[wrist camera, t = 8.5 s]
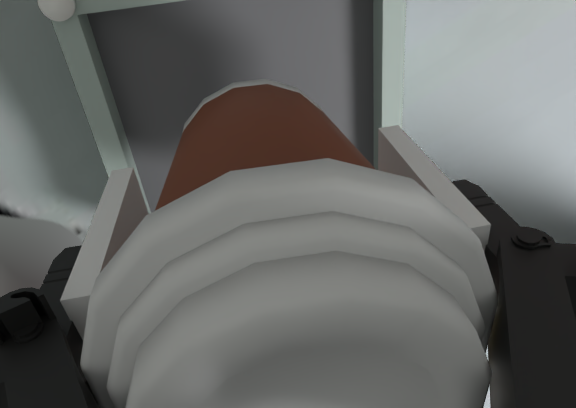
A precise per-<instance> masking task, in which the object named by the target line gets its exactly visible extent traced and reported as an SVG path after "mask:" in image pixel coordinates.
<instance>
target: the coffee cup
mask: <svg viewBox="0 0 576 408" xmlns="http://www.w3.org/2000/svg"><path fill="white" fill-rule="evenodd" d="M498 301H499V300H498V295H497V291H496V288H495V285H494V282H493V279H492V276H491V273H490V270H489V266H488V263H487V260H486V257H485V254H484V251H483V248H482V244H481V241H480V239H479V238H478V237H477V236H476V235H475V233H474V232H473V231H472V230H471V229H470V228H469V226H468V225H467V224H466V223H465V222H464V221H463V220H462V219H460V218H459V217H458V216H457V215H456V214H454V213H453V212H452V211H451V210H450V209H448V208H447V207H446V206H445V205H443V204H442V203H441V202H440V201H439V200H437V199H436V198H435V197H434V196H433V195H431V194H430V193H429V192H428V191H427V190H425V189H424V188H423V187H422V186H421V185H419V184H418V183H417V182H416V181H415V180H413V179H412V178H408V177H404V176H400V175H396V174H391V173H387V172H383V171H379V170H376V169H375V168H374V167H373V166H372V165H371V163H370V162H369V161H368V160H367V159H366V158H365V157H364V156H363V155H362V154H361V153H360V151H359V150H358V149H357V148H356V147H355V146H354V145H353V144H352V143H351V142H350V141H349V139H348V138H347V137H346V136H345V135H344V134H343V133H342V132H341V131H340V130H339V129H338V127H337V126H336V125H335V124H334V123H333V122H332V121H331V120H330V119H329V118H328V117H327V115H326V114H325V113H324V112H323V110H322V109H321V107H320V106H319V105H317V104H316V103H315V102H314V101H313V100H311V99H310V98H309V97H308V96H307V95H305V94H304V93H303V92H302V91H300V90H299V89H298V88H296V87H293V86H289V85H286V84H282V83H279V82H275V81H272V80H268V79H260V80H252V81H243V82H235V83H231V84H229V85H228V86H226V87H224V88H222V89H220V90H219V91H217V92H215V93H213V94H211V95H210V96H208V97H206V98H204V99H203V100H202V102H201V103H200V104H199V106H198V107H197V108H196V109H195V111H194V112H193V113H192V115H191V116H190V117H189V119H188V120H187V121H186V123H185V124H184V128H183V133H182V136H181V139H180V142H179V145H178V147H177V150H176V153H175V156H174V159H173V161H172V164H171V167H170V170H169V173H168V175H167V178H166V181H165V184H164V187H163V189H162V192H161V195H160V198H159V201H158V203H157V206H156V209H155V211H154V212H152V213H150V214H148V215H146V216H145V217H144V219H143V220H142V221H141V222H140V224H139V225H138V226H137V227H136V229H135V230H134V231H133V232H132V234H131V235H130V236H129V237H128V239H127V240H126V241H125V242H124V244H123V245H122V246H121V247H120V249H119V250H118V251H117V252H116V254H115V255H114V256H113V257H112V259H111V260H110V261H109V262H108V264H107V265H106V266H105V268H104V269H103V270H102V271H101V273H100V274H99V275H98V276H97V278H96V280H95V283H94V286H93V290H92V293H91V296H90V299H89V305H88V312H87V319H86V326H85V333H84V340H83V347H82V354H81V361H80V366H81V370H82V372H83V374H84V376H85V378H86V380H87V382H88V384H89V386H90V388H91V390H92V392H93V394H94V396H95V398H96V400H97V402H98V404H99V406H100V408H483V406H484V402H485V399H486V395H487V391H488V388H489V384H490V380H491V377H492V373H493V372H492V370H491V367H490V365H489V362H488V360H487V357H486V354H485V353H486V349H487V345H488V341H489V337H490V333H491V329H492V325H493V321H494V317H495V313H496V309H497V305H498Z"/></svg>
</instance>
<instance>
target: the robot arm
mask: <svg viewBox="0 0 576 408" xmlns="http://www.w3.org/2000/svg"><path fill="white" fill-rule="evenodd" d="M378 170H379V171H383V172H387V173H391V174H396V175H400V176H404V177H408V178H412V179H413V180H415V181H416V182H417V183H418V184H419V185H421V186H422V187H423V188H424V189H425V190H427V191H428V192H429V193H430V194H431V195H433V196H434V197H435V198H436V199H437V200H439V201H440V202H441V203H442V204H443V205H445V206H446V207H447V208H448V209H450V210H451V211H452V212H453V213H454V214H456V215H457V216H458V217H459V218H460V219H462V220H463V221H464V222H465V223H466V224H467V225H468V226H469V228H470V229H471V230H472V231H473V232H474V233H475V235H476V236H477V237H478V238H479V239H480V241H481V244H482V248H483V251H484V254H485V257H486V260H487V263H488V266H489V270H490V273H491V276H492V279H493V282H494V285H495V288H496V291H497V295H498V300H499V301H498V305H497V309H496V313H495V317H494V321H493V325H492V329H491V333H490V337H489V341H488V359H489V365H490V367H491V370H492V372H493V373H492V377H491V380H490V403H491V408H576V244H560V243H555V241H554V240H553V238H552V237H550V236H549V235H548V234H546V233H545V232H542V231H540V230H537V229H534V228H529V227H520V226H519V225H518V224H517V223H516V222H515V221H514V220H513V219H512V218H511V217H510V216H509V215H508V214H507V213H506V212H505V211H504V210H503V209H502V208H501V207H500V206H499V205H498V204H495V202H494V201H493V200H492V199H491V198H490V197H488V195H487V194H486V193H485V192H484V191H483V190H482V189H481V188H480V187H479V186H477V185H475V184H473V183H471V182H469V181H467V180H459V181H453V182H451V181H450V180H449V179H448V178H447V177H446V176H445V175H444V174H443V173H442V171H441V170H440V169H439V168H438V167H437V166H436V165H435V164H434V163H433V162H432V161H431V160H430V159H429V158H428V157H427V155H426V154H425V153H424V152H423V151H422V150H421V149H420V148H419V147H418V146H417V145H416V144H415V143H414V142H413V140H412V139H411V138H410V137H409V136H408V135H407V134H406V133H405V132H404V131H403V130H402V129H401V128H400V127H399V125H395V126H389V127H383V128H378ZM148 214H149V213H148V210H147V207H146V204H145V201H144V198H143V195H142V192H141V189H140V186H139V183H138V180H137V177H136V174H135V171H134V168H133V167H131V168H124V169H118V170H112V171H111V174H110V176H109V179H108V181H107V184H106V186H105V189H104V191H103V194H102V196H101V199H100V201H99V204H98V206H97V209H96V211H95V214H94V216H93V219H92V221H91V224H90V226H89V229H88V231H87V234H86V236H85V239H84V241H83V244H82V245H81V246H75V247H69V248H65V249H64V250H63V251H62V252H61V253H60V254H59V255H58V256H57V257H56V258H55V259H54V260H53V262H52V264H51V266H50V269H49V271H48V274H47V275H46V277H45V279H44V281H43V283H44V284H42V286H41V288H40V290H39V289H35V288H22V289H18V290H15V291H12V292H10V293H8V294H6V295H4V296H2V297H0V408H100V406H99V404H98V402H97V400H96V398H95V396H94V394H93V392H92V390H91V388H90V386H89V384H88V382H87V380H86V378H85V376H84V374H83V372H82V370H81V366H80V361H81V354H82V347H83V340H84V333H85V326H86V319H87V312H88V305H89V299H90V296H91V293H92V290H93V286H94V283H95V280H96V278H97V276H98V275H99V274H100V273H101V271H102V270H103V269H104V268H105V266H106V265H107V264H108V262H109V261H110V260H111V259H112V257H113V256H114V255H115V254H116V252H117V251H118V250H119V249H120V247H121V246H122V245H123V244H124V242H125V241H126V240H127V239H128V237H129V236H130V235H131V234H132V232H133V231H134V230H135V229H136V227H137V226H138V225H139V224H140V222H141V221H142V220H143V219H144V217H145V216H146V215H148Z"/></svg>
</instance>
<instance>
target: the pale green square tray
mask: <svg viewBox="0 0 576 408" xmlns="http://www.w3.org/2000/svg"><path fill="white" fill-rule="evenodd" d="M38 5H39V8H40V10H41V11H42V13H43V14H44V15H45V16H46V17H48V18H49V19H51V22H52V25H53V27H54V30H55V33H56V36H57V38H58V41H59V44H60V46H61V49H62V52H63V55H64V57H65V60H66V63H67V65H68V68H69V71H70V74H71V76H72V79H73V82H74V85H75V87H76V90H77V93H78V95H79V98H80V101H81V104H82V106H83V109H84V112H85V115H86V117H87V120H88V123H89V125H90V128H91V131H92V134H93V136H94V139H95V142H96V145H97V147H98V150H99V153H100V155H101V158H102V161H103V164H104V166H105V169H106V172H107V174H108V177H109V176H110V174H111V171H112V170H118V169H124V168H131V167H133V168H134V171H135V174H136V177H137V180H138V183H139V186H140V189H141V192H142V195H143V198H144V201H145V204H146V207H147V210H148V213H149V214H150V213H152V212H154V211H155V209H156V206H157V203H158V201H159V198H160V195H161V192H162V189H163V187H164V184H165V181H166V178H167V175H168V173H169V170H170V167H171V164H172V161H173V159H174V156H175V153H176V150H177V147H178V145H179V142H180V139H181V136H182V133H183V128H184V124H185V123H186V121H187V120H188V119H189V117H190V116H191V115H192V113H193V112H194V111H195V109H196V108H197V107H198V106H199V104H200V103H201V102H202V100H203V99H204V98H206V97H208V96H210V95H211V94H213V93H215V92H217V91H219V90H220V89H222V88H224V87H226V86H228V85H229V84H231V83H235V82H243V81H252V80H260V79H268V80H272V81H275V82H279V83H282V84H286V85H289V86H293V87H296V88H298V89H299V90H300V91H302V92H303V93H304V94H305V95H307V96H308V97H309V98H310V99H311V100H313V101H314V102H315V103H316V104H317V105H319V106H320V107H321V109H322V110H323V112H324V113H325V114H326V115H327V117H328V118H329V119H330V120H331V121H332V122H333V123H334V124H335V125H336V126H337V127H338V129H339V130H340V131H341V132H342V133H343V134H344V135H345V136H346V137H347V138H348V139H349V141H350V142H351V143H352V144H353V145H354V146H355V147H356V148H357V149H358V150H359V151H360V153H361V154H362V155H363V156H364V157H365V158H366V159H367V160H368V161H369V162H370V163H371V165H372V166H373V167H374V168H375V169H376V170H378V128H383V127H389V126H395V125H399V127H400V128H401V129H402V113H403V84H404V56H405V28H406V0H38Z"/></svg>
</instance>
